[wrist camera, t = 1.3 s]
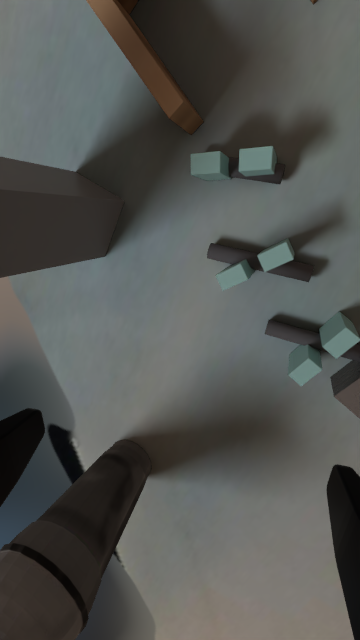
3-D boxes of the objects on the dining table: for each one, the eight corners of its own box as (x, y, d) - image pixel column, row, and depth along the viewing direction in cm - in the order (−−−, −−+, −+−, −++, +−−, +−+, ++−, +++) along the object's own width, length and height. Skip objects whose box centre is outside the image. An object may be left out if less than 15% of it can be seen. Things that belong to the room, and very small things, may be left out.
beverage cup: (113, 414, 28) (-201, 745, 10) (176, 460, 27) (-55, 918, 9) (91, 458, 31) (-178, 768, 14) (146, 501, 30) (-67, 898, 13)
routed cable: (456, 189, 15) (466, 187, 14) (372, 362, 18) (376, 369, 18) (201, 154, 18) (196, 151, 17) (175, 304, 22) (170, 308, 21)
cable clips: (262, 123, 17) (254, 105, 14) (362, 345, 18) (373, 367, 16) (182, 180, 19) (163, 174, 17) (277, 371, 21) (274, 393, 18)
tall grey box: (126, 200, 21) (-83, 180, 10) (105, 258, 23) (-86, 298, 12) (74, 169, 22) (-177, 117, 10) (59, 228, 24) (-164, 240, 12)
